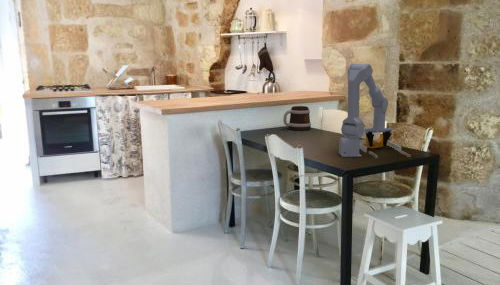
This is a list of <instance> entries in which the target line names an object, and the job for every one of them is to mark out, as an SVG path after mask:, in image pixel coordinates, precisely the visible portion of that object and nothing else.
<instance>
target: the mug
mask: <svg viewBox="0 0 500 285" xmlns="http://www.w3.org/2000/svg"><path fill="white" fill-rule="evenodd" d="M310 113H311V110H310V108H309V107H308V106H305V105H304V106H303V105H294V106H292V107H291V108H290V110H286V111H285V112H284V114H283V124H284V126H286V127H288V129H289V130H290V131H296V132H297V131H298V132H301V131H302V132H303V131H304V132H306V131H310V130H311V129H312V128H311V126H312V123H311V119H310V118H311V117H310V116H311V115H310ZM289 114H290V116H289V122H287V121H288V120H287V116H288V115H289ZM309 129H310V130H309ZM305 130H306V131H305Z"/></svg>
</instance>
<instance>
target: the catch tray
mask: <svg viewBox="0 0 500 285" xmlns="http://www.w3.org/2000/svg"><path fill="white" fill-rule="evenodd" d="M378 139H379V138H378ZM378 139H377V138H376V139H374V138H373V140H374V141H377V140H378ZM386 146H388V147H389V148H391V147H392V149H393V148H394V150H395V151H397V152H399V153H400V151H402V146H401V145H399V144H396V143H394V142H392V141H390V140H389V139H388V142H387V144H386ZM359 150H361V151H362V152H363V153H367V152H368V148H367V147H366V139H360V147H359Z"/></svg>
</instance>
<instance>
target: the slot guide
mask: <svg viewBox="0 0 500 285" xmlns="http://www.w3.org/2000/svg"><path fill="white" fill-rule="evenodd" d="M368 154H369V155H370V156H372V157H373V158H375V159H378V158H379V157H378V154H376V153H374V152H373V151H371V150H368ZM399 154H401V155H403V156H404V155H405V157H406V156H407V157H406V158H408V157H411V156H412V155H411V154H410V153H407V152H406V151H404V150H401V151H400V152H399Z"/></svg>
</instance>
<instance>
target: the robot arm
mask: <svg viewBox="0 0 500 285" xmlns="http://www.w3.org/2000/svg"><path fill="white" fill-rule="evenodd" d="M373 71H374V70H373V68H372V65H371V64H370V63H352V64H350V65H349V67H348V68H347V117H346V118H344V119H343V120H342V125H341V127H340V129H341V134H342V137H340V138H339V142H338V143H339V144H338V145H339V146H338V154H339V155H340V156H341V157H343V158H344V157H345V158H347V157H349V158H351V157H353V158H354V157H362V156H363V155H362V154H360V149H359V147H360V140H361V138H362V137H363V135H364V134H365V137H366V136H367V138H368V141H369V146H370V147H372V146H373V140H374V137H375V133H377V134H378V133H382V134H383V146H382V147H387V145H386V144H387V142H388V140H389V139H390V138H391V135H392V133H393V128H391V127H385V126H386V125H385V123H386V112H387V111H388V106H389V100H388V99H387V97H384V94H383V93H382V90H381V88H380V87H379V85H376V82H375V80H374V78H373ZM363 82H364V83H365V84H366V86H367V88H368V93H367V94H369V96H370V99H371V106H372V107H373V120H372V127H371V128H365V126H364V121H363V120H362V118H360V87H361V86H360V84H362V83H363Z"/></svg>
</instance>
